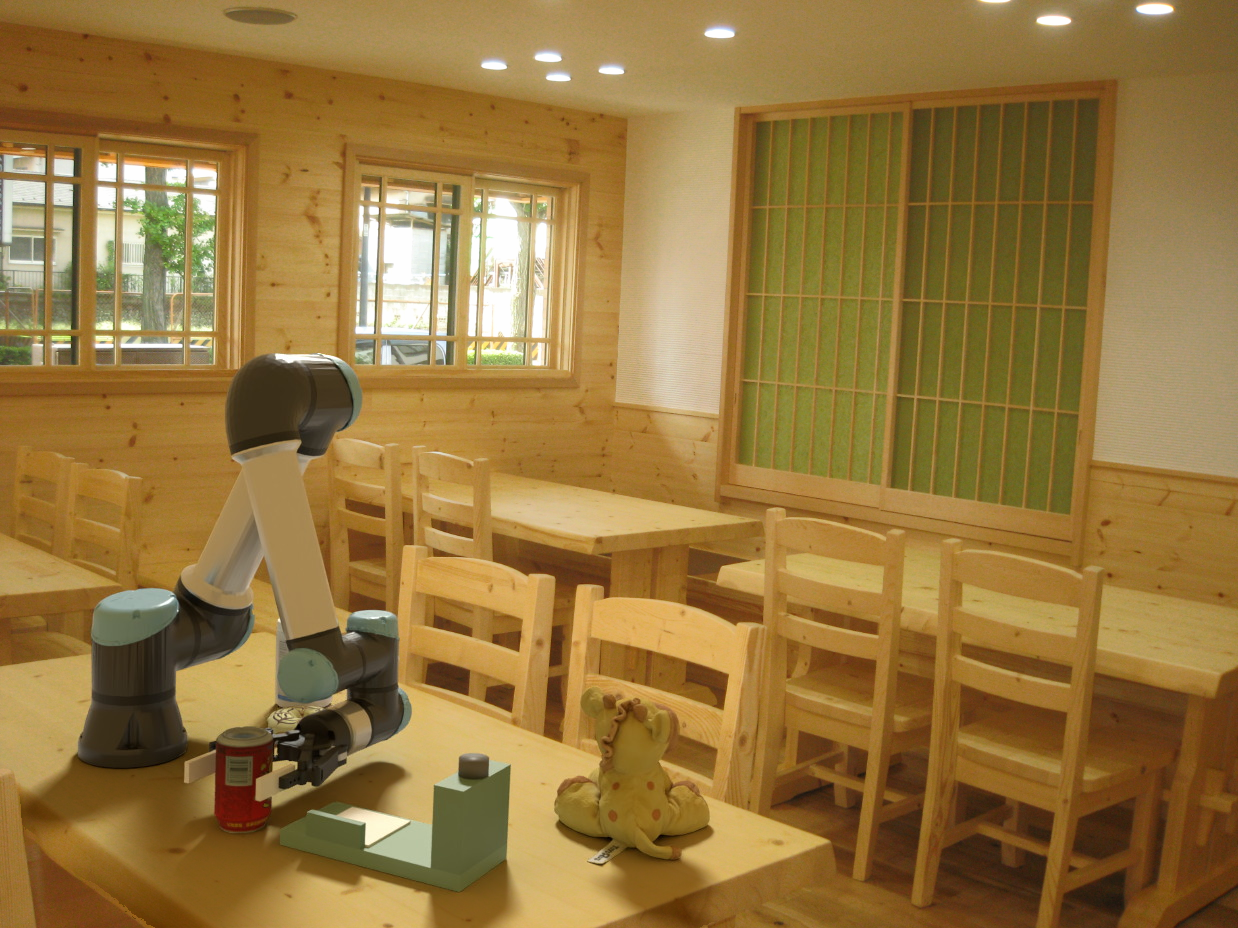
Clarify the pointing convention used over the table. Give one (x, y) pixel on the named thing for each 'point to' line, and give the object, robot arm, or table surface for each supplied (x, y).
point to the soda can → (242, 778)
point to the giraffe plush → (631, 781)
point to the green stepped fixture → (420, 830)
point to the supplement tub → (280, 653)
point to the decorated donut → (289, 717)
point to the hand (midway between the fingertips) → (221, 781)
